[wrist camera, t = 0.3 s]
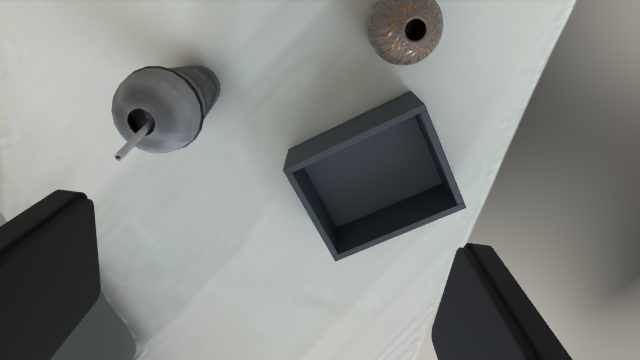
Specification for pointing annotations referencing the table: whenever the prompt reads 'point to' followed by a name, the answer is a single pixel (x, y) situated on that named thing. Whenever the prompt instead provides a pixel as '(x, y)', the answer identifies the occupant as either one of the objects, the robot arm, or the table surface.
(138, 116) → the beverage cup
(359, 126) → the dark grey open box
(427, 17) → the vase
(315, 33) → the table surface
